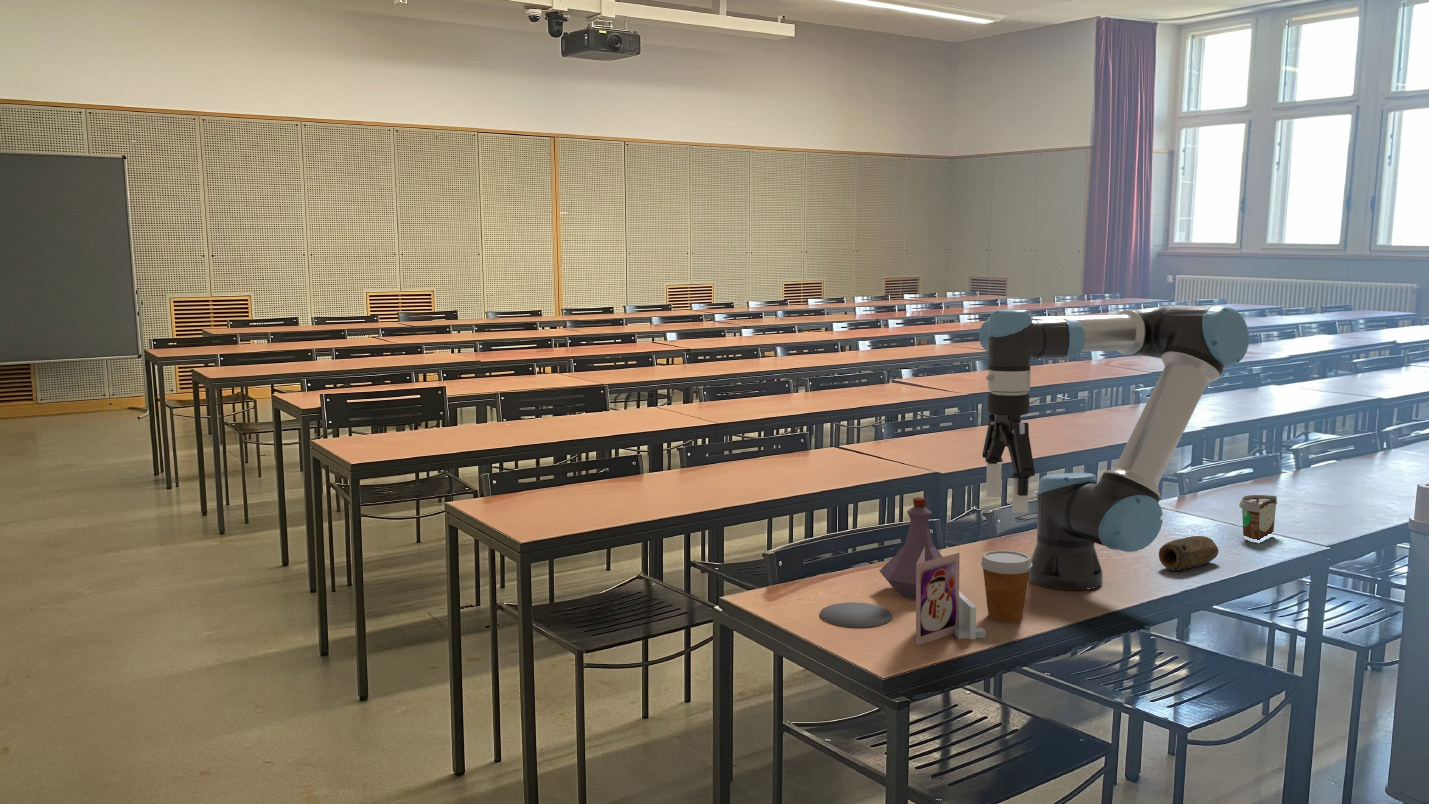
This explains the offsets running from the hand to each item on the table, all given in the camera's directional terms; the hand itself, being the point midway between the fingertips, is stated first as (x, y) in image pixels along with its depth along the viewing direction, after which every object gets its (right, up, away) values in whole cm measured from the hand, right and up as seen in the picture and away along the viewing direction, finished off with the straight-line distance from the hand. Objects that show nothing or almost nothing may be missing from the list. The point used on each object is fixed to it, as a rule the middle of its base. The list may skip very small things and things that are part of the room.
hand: (1006, 504), depth 189 cm
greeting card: (-16, -24, -5) cm, 29 cm away
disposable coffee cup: (+1, -22, +3) cm, 22 cm away
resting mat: (-28, -22, +6) cm, 36 cm away
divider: (-9, -23, 0) cm, 24 cm away
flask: (-13, -21, +19) cm, 30 cm away
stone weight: (+50, -18, +33) cm, 63 cm away
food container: (+77, -14, +55) cm, 96 cm away
